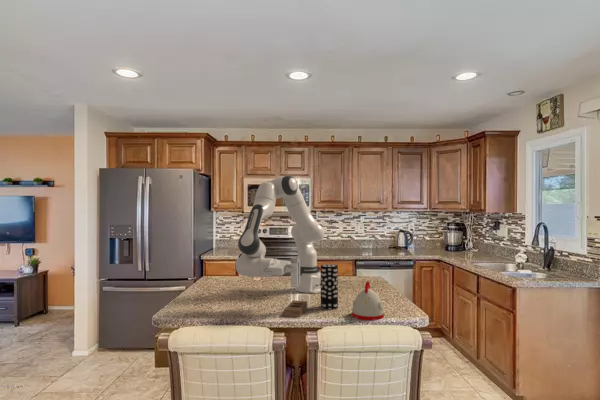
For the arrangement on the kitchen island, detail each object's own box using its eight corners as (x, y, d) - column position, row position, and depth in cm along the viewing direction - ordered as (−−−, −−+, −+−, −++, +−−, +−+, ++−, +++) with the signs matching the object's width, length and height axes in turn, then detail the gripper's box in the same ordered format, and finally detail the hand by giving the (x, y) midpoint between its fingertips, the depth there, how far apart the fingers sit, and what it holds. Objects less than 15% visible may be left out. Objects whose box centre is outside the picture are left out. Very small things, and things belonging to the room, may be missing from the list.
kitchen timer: (349, 318, 157) (348, 283, 157) (355, 309, 170) (355, 277, 170) (381, 321, 152) (381, 286, 152) (385, 312, 165) (385, 279, 165)
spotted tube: (320, 304, 178) (320, 264, 179) (337, 304, 178) (337, 264, 179) (321, 309, 170) (320, 266, 171) (338, 309, 170) (338, 267, 170)
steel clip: (294, 284, 171) (293, 256, 171) (300, 284, 170) (300, 256, 170) (290, 287, 165) (290, 258, 165) (297, 287, 164) (296, 258, 164)
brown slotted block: (293, 306, 176) (292, 300, 176) (307, 307, 174) (307, 301, 174) (284, 316, 160) (284, 309, 160) (299, 317, 158) (299, 310, 158)
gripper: (261, 264, 160) (291, 265, 157) (274, 257, 180) (301, 258, 177) (261, 278, 160) (291, 279, 157) (274, 270, 180) (302, 271, 177)
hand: (297, 268), depth 167 cm, fingers closed on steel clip, 6 cm apart
